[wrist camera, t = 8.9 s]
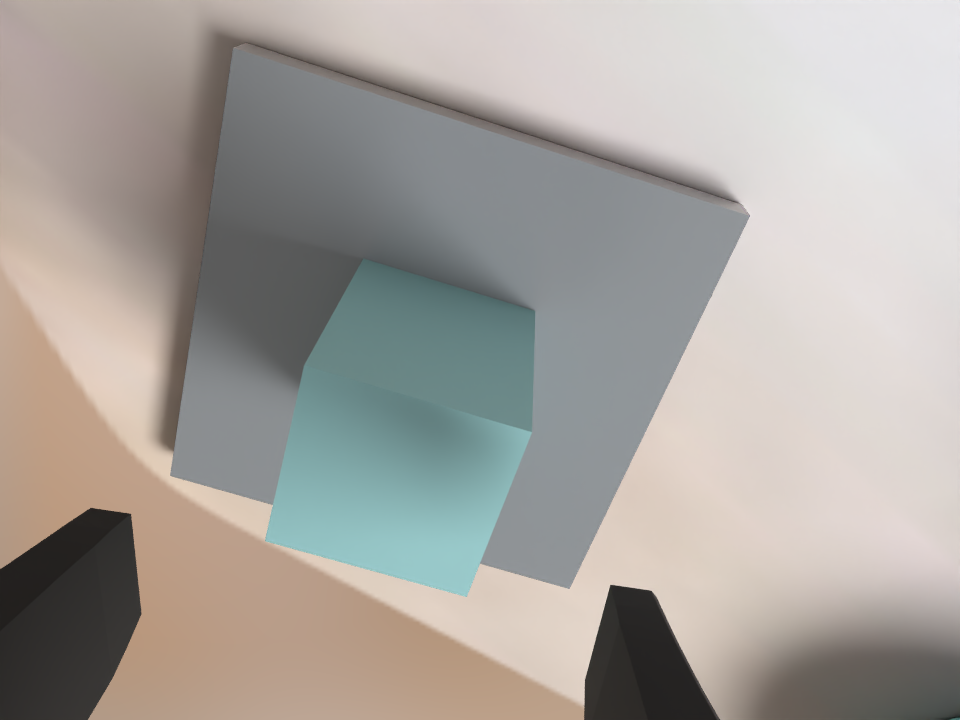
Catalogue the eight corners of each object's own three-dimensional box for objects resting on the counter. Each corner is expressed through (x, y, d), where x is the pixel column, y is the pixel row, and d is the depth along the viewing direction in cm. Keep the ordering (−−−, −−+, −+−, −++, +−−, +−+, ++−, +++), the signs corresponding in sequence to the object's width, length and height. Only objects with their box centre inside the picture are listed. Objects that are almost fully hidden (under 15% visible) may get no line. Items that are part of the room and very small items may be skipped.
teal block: (535, 311, 18) (531, 432, 14) (484, 450, 20) (466, 596, 16) (363, 258, 18) (304, 365, 14) (327, 405, 20) (264, 541, 15)
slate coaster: (741, 204, 18) (749, 215, 17) (568, 568, 23) (569, 588, 22) (246, 42, 17) (233, 47, 16) (182, 458, 22) (170, 475, 21)
